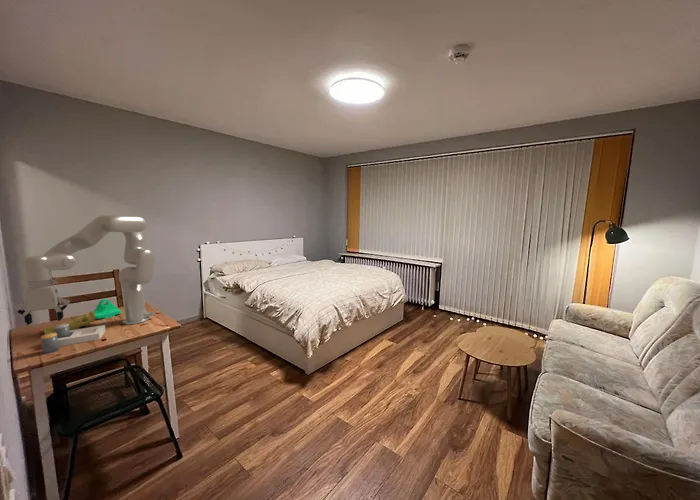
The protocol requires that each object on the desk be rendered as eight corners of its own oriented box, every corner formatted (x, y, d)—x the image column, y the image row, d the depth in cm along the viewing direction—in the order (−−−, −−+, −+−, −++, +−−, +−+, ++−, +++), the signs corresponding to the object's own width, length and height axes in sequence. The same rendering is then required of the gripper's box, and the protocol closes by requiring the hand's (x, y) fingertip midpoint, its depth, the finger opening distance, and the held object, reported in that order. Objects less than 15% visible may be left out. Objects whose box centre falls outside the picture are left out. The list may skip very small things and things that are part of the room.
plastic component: (45, 334, 141) (41, 322, 146) (48, 345, 145) (44, 332, 149) (97, 319, 156) (92, 308, 161) (98, 329, 159) (93, 318, 164)
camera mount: (96, 321, 165) (94, 303, 163) (92, 318, 169) (90, 301, 168) (122, 314, 175) (120, 298, 173) (117, 312, 179) (115, 296, 177)
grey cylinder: (72, 338, 141) (70, 322, 140) (69, 342, 137) (66, 326, 136) (58, 340, 139) (56, 324, 138) (54, 344, 135) (52, 328, 133)
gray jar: (61, 348, 132) (58, 331, 131) (56, 352, 128) (54, 336, 127) (46, 350, 130) (43, 334, 128) (41, 355, 125) (38, 338, 124)
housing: (105, 331, 150) (104, 325, 150) (99, 340, 140) (98, 333, 139) (53, 339, 140) (52, 333, 140) (42, 350, 130) (41, 343, 130)
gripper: (70, 280, 132) (74, 315, 134) (16, 284, 123) (21, 322, 125) (64, 283, 125) (68, 321, 127) (6, 288, 117) (12, 328, 119)
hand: (45, 321), depth 126 cm, fingers open, 9 cm apart
